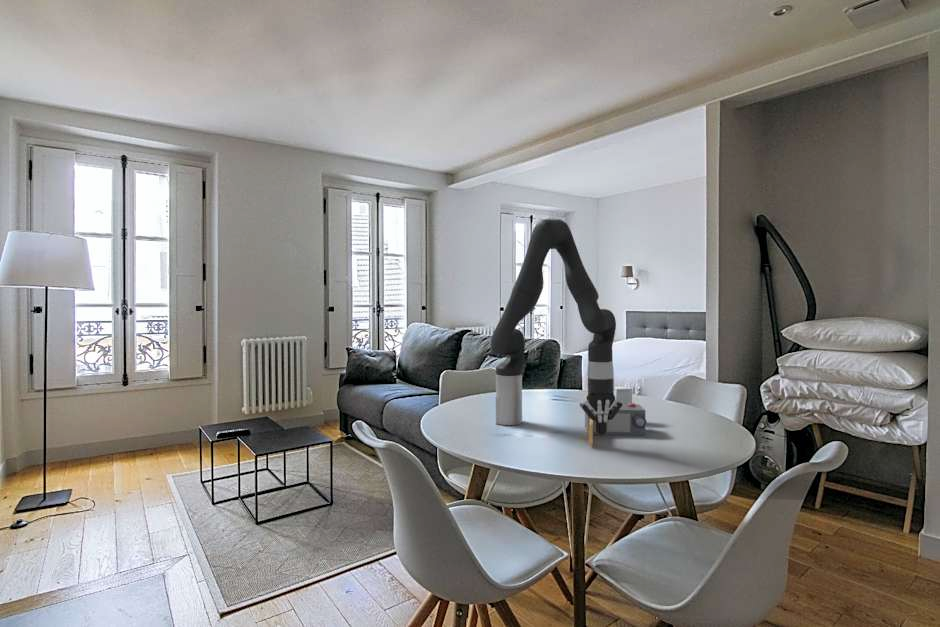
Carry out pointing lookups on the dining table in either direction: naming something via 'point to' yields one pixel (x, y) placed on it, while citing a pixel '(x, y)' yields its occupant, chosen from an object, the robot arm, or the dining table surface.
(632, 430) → the camera body
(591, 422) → the door
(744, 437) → the dining table surface
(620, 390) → the skincare box
